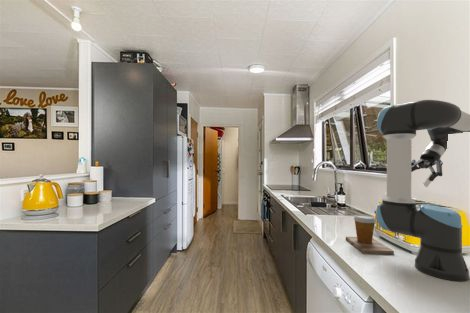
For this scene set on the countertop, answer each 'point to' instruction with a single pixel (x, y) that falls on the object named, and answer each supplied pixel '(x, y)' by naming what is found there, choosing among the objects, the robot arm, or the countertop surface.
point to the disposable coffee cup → (364, 228)
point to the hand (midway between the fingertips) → (410, 183)
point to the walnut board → (370, 246)
